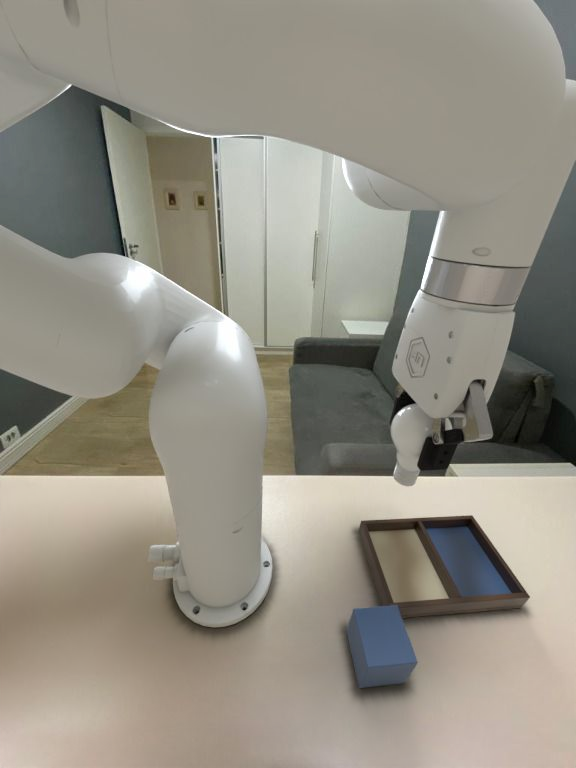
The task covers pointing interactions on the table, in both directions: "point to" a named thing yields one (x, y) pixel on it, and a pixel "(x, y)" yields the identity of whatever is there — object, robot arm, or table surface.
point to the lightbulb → (410, 441)
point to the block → (380, 646)
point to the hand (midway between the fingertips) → (415, 444)
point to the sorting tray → (438, 566)
